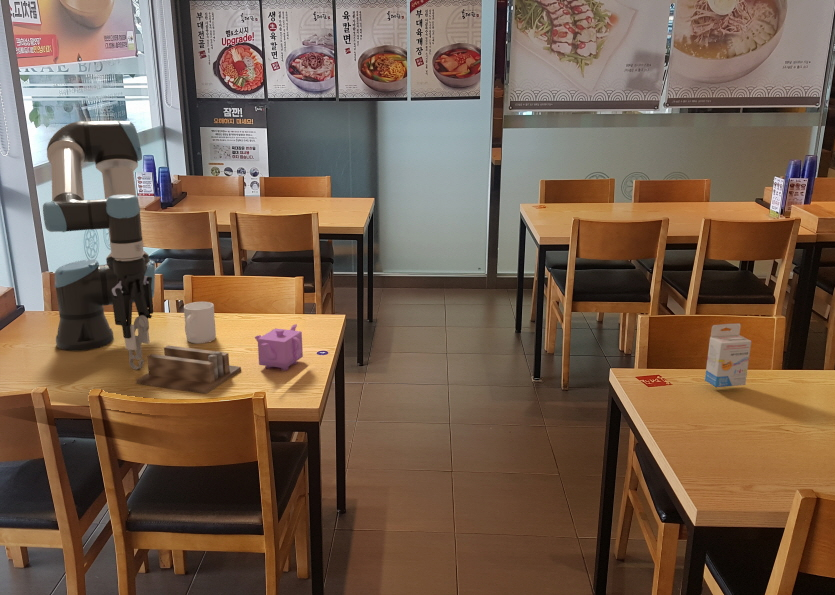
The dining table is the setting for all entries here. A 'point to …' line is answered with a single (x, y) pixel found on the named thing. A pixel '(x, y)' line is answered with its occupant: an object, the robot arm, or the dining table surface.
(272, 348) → the teapot
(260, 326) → the dining table surface
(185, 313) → the mug
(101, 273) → the robot arm
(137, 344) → the bracket
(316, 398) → the dining table surface
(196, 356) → the letter rack
